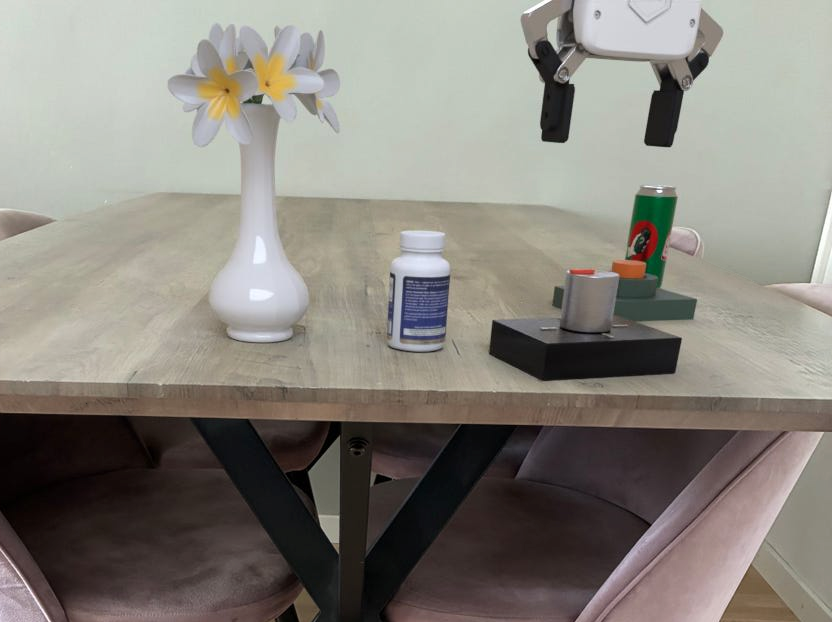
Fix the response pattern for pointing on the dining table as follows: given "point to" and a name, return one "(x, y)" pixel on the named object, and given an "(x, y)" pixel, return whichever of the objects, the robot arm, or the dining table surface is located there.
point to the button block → (644, 301)
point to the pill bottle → (418, 293)
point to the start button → (629, 268)
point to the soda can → (652, 227)
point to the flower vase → (256, 162)
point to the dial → (589, 300)
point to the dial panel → (583, 349)
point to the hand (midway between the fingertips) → (606, 144)
